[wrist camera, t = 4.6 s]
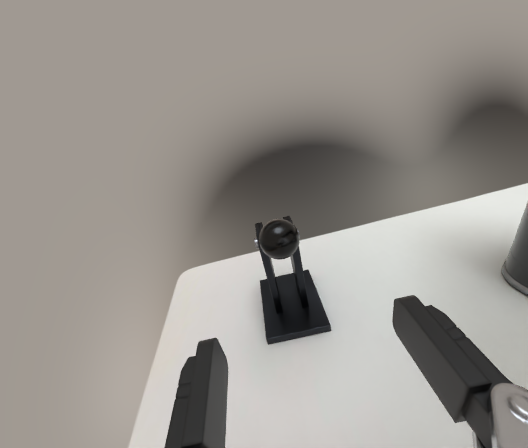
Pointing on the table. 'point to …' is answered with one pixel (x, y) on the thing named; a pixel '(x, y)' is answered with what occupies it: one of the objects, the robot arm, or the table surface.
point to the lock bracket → (290, 300)
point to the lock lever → (279, 239)
